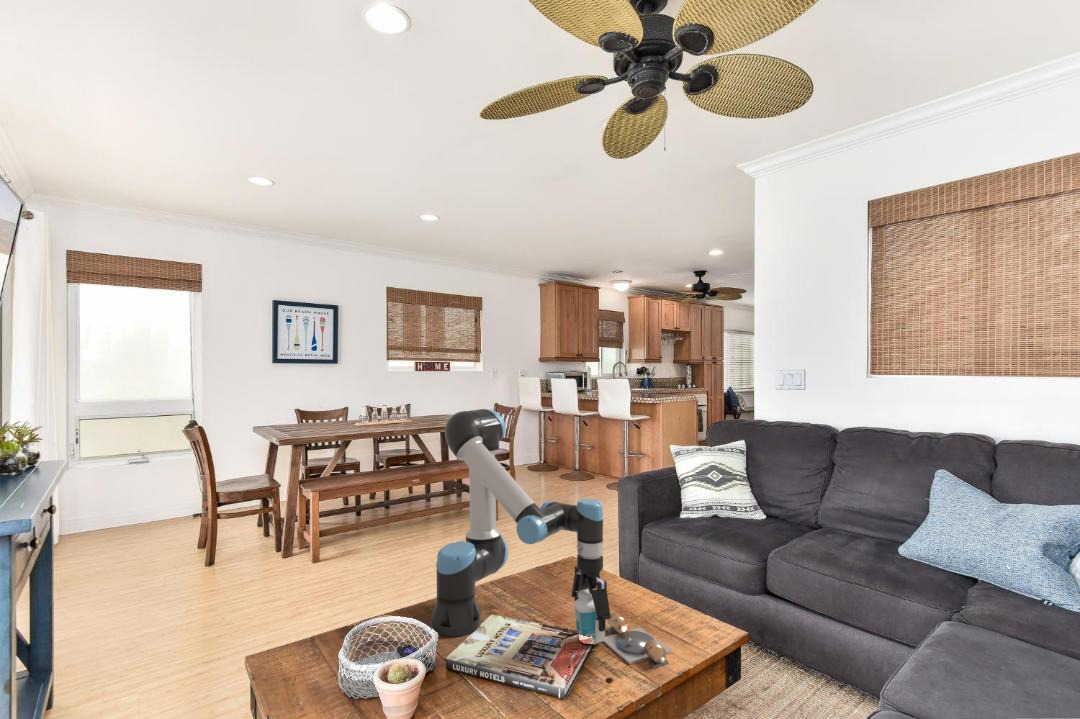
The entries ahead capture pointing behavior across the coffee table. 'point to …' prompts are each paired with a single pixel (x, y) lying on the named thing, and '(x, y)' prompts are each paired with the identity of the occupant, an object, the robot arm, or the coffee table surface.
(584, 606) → the pill bottle
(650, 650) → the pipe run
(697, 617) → the coffee table surface
